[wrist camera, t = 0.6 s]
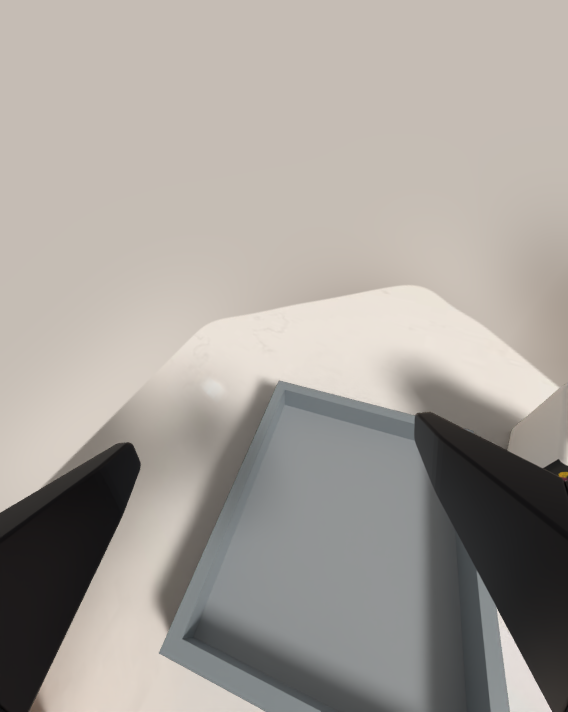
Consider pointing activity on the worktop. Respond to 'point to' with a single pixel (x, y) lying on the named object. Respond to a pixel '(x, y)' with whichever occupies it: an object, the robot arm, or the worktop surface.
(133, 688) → the worktop surface
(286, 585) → the tray
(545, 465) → the medicine bottle
